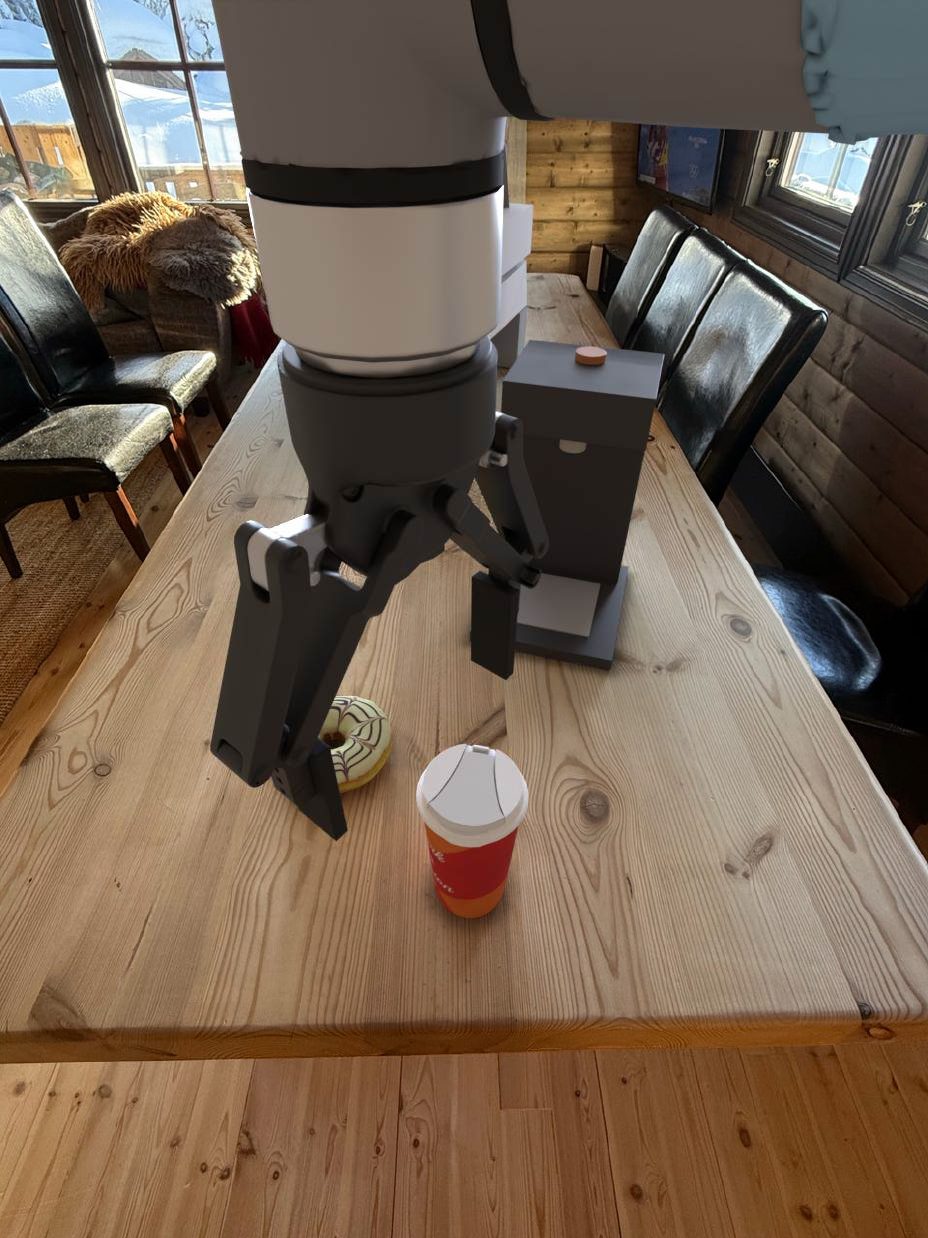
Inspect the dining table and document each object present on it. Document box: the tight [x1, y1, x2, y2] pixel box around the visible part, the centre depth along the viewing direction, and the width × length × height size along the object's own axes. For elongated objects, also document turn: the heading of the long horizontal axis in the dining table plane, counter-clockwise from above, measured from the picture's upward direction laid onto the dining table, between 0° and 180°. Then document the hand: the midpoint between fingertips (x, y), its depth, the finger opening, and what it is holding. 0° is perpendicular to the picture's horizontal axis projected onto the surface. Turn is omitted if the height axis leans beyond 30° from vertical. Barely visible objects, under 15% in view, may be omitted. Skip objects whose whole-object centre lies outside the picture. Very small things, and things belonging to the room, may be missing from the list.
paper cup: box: [415, 743, 530, 919], centre depth 49 cm, size 8×8×14 cm
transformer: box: [487, 138, 534, 369], centre depth 122 cm, size 34×33×41 cm
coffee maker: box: [469, 339, 665, 671], centre depth 71 cm, size 18×16×29 cm
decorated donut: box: [318, 695, 393, 794], centre depth 62 cm, size 10×11×4 cm
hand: (416, 735), depth 36 cm, fingers open, 13 cm apart
